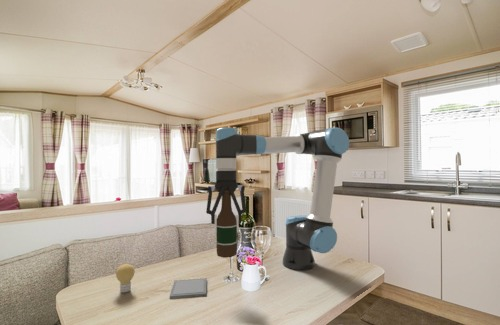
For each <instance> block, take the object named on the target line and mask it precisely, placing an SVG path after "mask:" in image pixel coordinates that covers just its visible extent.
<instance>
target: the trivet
mask: <svg viewBox="0 0 500 325" xmlns="http://www.w3.org/2000/svg"><path fill="white" fill-rule="evenodd" d="M207 281H208V279H207V277H205V278H203V277H202V278H192V279H177V280H174V281H173V283H172V288H171V291H170V293H169V299H180V298H191V297H204V296H207V283H208V282H207Z"/></svg>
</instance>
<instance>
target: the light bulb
mask: <svg viewBox="0 0 500 325" xmlns="http://www.w3.org/2000/svg"><path fill="white" fill-rule="evenodd" d="M135 273H136V270H135V268H134V266H133V265H132V264H128V263H126V264H122V265H120V266H119V267H118V268H117V270H116V272H115V276H116V279H117V280H118V281H119V283H120V284H119V288H120V289H119V292H121V293H124V294H125V293H128V292H130V291H131V290H132V285H131V284H132V282H131V281H132V279H133V277H134V276H135Z"/></svg>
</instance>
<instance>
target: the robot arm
mask: <svg viewBox="0 0 500 325" xmlns="http://www.w3.org/2000/svg"><path fill="white" fill-rule="evenodd" d="M215 132H216V133H215V155H216V156H215V169H217V170H216V171H215V183H214V185H208V186H207V191H208V195H207V203H206V211H205V213H206V214H207V215H210V216H211V217H210V219H211V220H210V222H211V224H212V225H213V226H214V234H217V217H218V214H217V213H216V212H217V209H218V207H219V204H220V202H221V200H222V196H223V194H224V193H223V192H224V190H225V189H229V191H230V193H229V194H230V195H231V200H232V201H233V204H234V206H235V209H236V211H237V213H235V217H236V221H237V234H238V233H240V232H239V229H240V227H239V224H242V214H244V213H246V212H247V205H246V204H247V203H246V198H245V188H246V186H245V185H240V184H238V183H237V171H236V169H237V157H238V156H250V155H255V156H256V155H267V154H270V155H271V154H283V153H295V154H297V155H313V156H314V158H315V159H316V167H315V176H314V182H313V183H314V184H313V191H312V196H311V205H310V211H309V214H308V215H292V216H288V217H286V220H285V237H286V238H285V244H286V245H285V250H284V253H283V257H282V265H283V266H284V267H286V268H287V269H291V270H294V271H295V270H296V271H306V270H311V269H313V268H314V267H315V262H316V261H315V258H314V255H313V252H315V253H319V254H326V253H329V252H331V250H333V249H334V248H335V246H336V244H337V240H338V234H337V231H336V230H335V228H334V227H333V226H334V221H333V220H332V218H331V213H332V205H333V198H334V191H335V183H336V175H337V174H336V173H337V168H338V163H340V161H342V156H343V155H344V154H345V153H347V151H348V150H349V148H350V147H349V146H350V140H349V138H350V137H349V136H348V135H347V133H346V131H345V130H343V129H342V128H340V127H328V128H324V129H319V130H314V131H310V132H305V133H297V134H294V136H293V135H292V136H263V135H258V134H239V133H237V129H236V128H233V127H220V128H217V129H216V131H215ZM215 189H216V191H217V197H216V199H215V201H214V204H213V207H212V209H211V206H212V205H211V204H212V196H213V192H214V191H215ZM237 189H238V191H239V194H240V195H239V196H240V203H241V208H240V205H239V202H238V200H237V197H236V195H235V192H236V190H237Z"/></svg>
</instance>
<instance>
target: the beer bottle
mask: <svg viewBox="0 0 500 325" xmlns="http://www.w3.org/2000/svg"><path fill="white" fill-rule="evenodd" d="M223 193H224V194H223V196H222V197H221V207H220V208H221V209H220V211H219V213H218V214H217V234H216V238H215V239H216V242H215V243H216V247H215V248H216V255H217V257H220V258H223V259H225V258H232V257H235V256H236V255H237V254H238V253H237V252H238V251H237V250H238V240H237V239H238V233H237V221H236V214H235V213H234V212H233V208H232V197H231V195H230V194H229V193H230V191H229V189H225V190H224V192H223Z"/></svg>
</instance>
